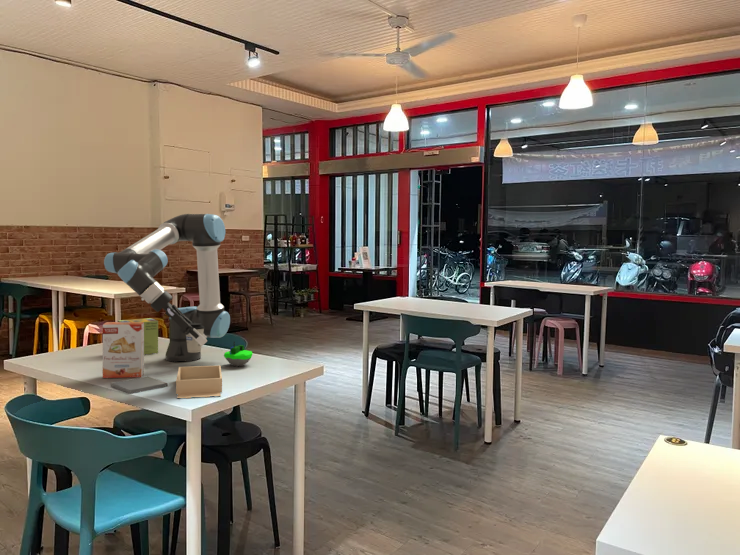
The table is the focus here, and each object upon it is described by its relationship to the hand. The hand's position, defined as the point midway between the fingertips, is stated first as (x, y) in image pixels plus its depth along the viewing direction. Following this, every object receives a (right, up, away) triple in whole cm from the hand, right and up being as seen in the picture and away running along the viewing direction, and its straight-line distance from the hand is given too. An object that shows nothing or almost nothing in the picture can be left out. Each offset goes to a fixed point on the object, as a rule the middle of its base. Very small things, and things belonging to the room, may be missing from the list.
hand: (204, 341), depth 201 cm
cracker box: (-35, -15, +12) cm, 40 cm away
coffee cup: (-3, -4, -1) cm, 5 cm away
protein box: (-48, -12, +56) cm, 75 cm away
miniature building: (+4, -15, +36) cm, 39 cm away
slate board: (-23, -16, -2) cm, 28 cm away
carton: (-2, -16, 0) cm, 16 cm away
